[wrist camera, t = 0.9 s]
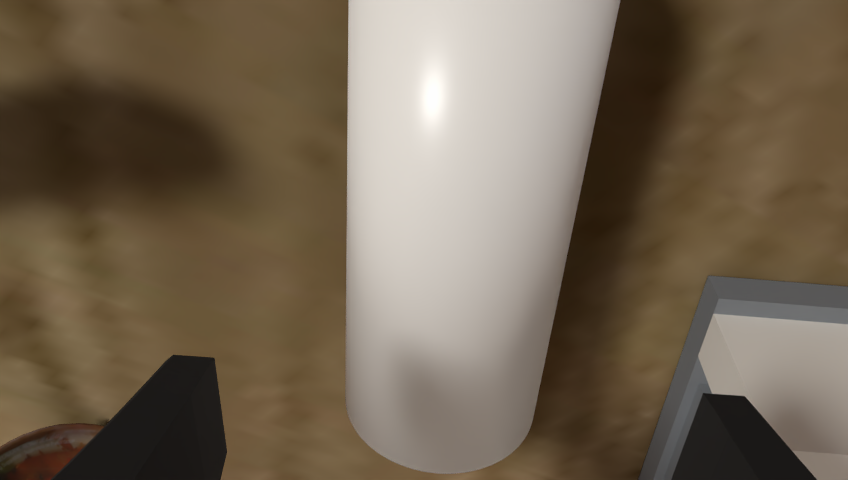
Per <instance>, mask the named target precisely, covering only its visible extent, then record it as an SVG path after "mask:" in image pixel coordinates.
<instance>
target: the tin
mask: <svg viewBox="0 0 848 480" xmlns="http://www.w3.org/2000/svg"><path fill="white" fill-rule="evenodd" d="M103 427H104V426H100V425H94V424H85V423H76V424H59V425H54V426H49V427H45V428H41V429H37V430H35V431H32V432H29V433H26V434H23V435H21V436H19V437H17V438H15V439H13V440H11V441H9V442H7V443H6V444H4V445H3V446H1V447H0V480H51V479H52V478H53V477H54V476H55V475H56V474H57V473H58V472H59V471H60V470H61V469H62V468H63V467H64V466H65V465H66V464H67V463H68V462H69V461H70V460H71V459H72V458H73V457H74V456H75V455H76V454H77V453H78V452H79V451H80V450H81V449H82V448H83V447H84V446H85V445H86V444H87V443H88V442H89V441H90V440H91V439H92V438H93V437H94V436H95V435H96V434H97V433H98V432H99V431H100V430H101V429H102V428H103Z"/></svg>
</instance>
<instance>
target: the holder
mask: <svg viewBox="0 0 848 480" xmlns="http://www.w3.org/2000/svg"><path fill="white" fill-rule="evenodd" d="M703 393H709V394H723V395H737V396H745V397H746V398H747V399H748V400H749V401H750V403H751V404H752V405H753V406H754V407H755V408H756V409H757V411H758V412H759V413H760V414H761V415H762V416H763V418H764V419H765V420H766V421H767V422H768V423H769V424H770V426H771V427H772V428H773V429H774V430H775V432H776V433H777V434H778V435H779V436H780V437H781V439H782V440H783V441H784V442H785V443H786V444H787V446H788V447H789V448H790V449H791V450H792V451H793V452H794V454H795V455H796V456H797V457H798V458H799V459H800V461H801V462H802V463H803V464H804V465H805V466H806V467H807V469H808V470H809V471H810V472H811V473H812V474H813V476H814V477H815V478H816V479H817V480H848V287H845V286H833V285H820V284H807V283H795V282H782V281H770V280H757V279H744V278H732V277H719V276H708V278H707V281H706V284H705V287H704V290H703V292H702V295H701V298H700V301H699V304H698V307H697V310H696V313H695V316H694V319H693V322H692V324H691V327H690V330H689V333H688V336H687V339H686V342H685V345H684V348H683V351H682V354H681V356H680V359H679V362H678V365H677V368H676V371H675V374H674V377H673V380H672V383H671V386H670V388H669V391H668V394H667V397H666V400H665V403H664V406H663V409H662V412H661V415H660V417H659V420H658V423H657V426H656V429H655V432H654V435H653V438H652V441H651V444H650V447H649V449H648V452H647V455H646V458H645V461H644V464H643V467H642V470H641V473H640V476H639V479H638V480H671V479H672V476H673V473H674V471H675V468H676V465H677V462H678V460H679V457H680V454H681V452H682V449H683V446H684V443H685V441H686V438H687V435H688V433H689V430H690V427H691V424H692V422H693V419H694V416H695V414H696V411H697V408H698V405H699V403H700V400H701V397H702V395H703Z"/></svg>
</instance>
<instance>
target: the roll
mask: <svg viewBox="0 0 848 480" xmlns="http://www.w3.org/2000/svg"><path fill="white" fill-rule="evenodd" d="M619 5H620V0H349V16H348V141H347V266H346V390H345V401H346V409H347V413H348V416H349V419H350V421H351V423H352V425H353V427H354V429H355V430H356V432H357V433H358V434H359V436H360V437H361V438H362V439H363V440H364V441H365V442H366V443H367V445H369V446H370V447H371V448H372V449H374V450H375V451H376V452H377V453H379V454H380V455H382V456H384V457H385V458H387V459H389V460H391V461H393V462H395V463H397V464H399V465H402V466H405V467H408V468H411V469H415V470H419V471H424V472H430V473H439V474H454V473H464V472H470V471H474V470H479V469H482V468H485V467H488V466H491V465H493V464H495V463H497V462H499V461H501V460H502V459H504V458H505V457H507V456H508V455H510V454H511V453H512V452H513V451H514V450H515V449H517V448H518V447H519V446H520V444H521V443H522V442H523V440H524V439H525V438H526V436H527V434H528V432H529V430H530V427H531V424H532V421H533V417H534V412H535V407H536V402H537V397H538V393H539V388H540V383H541V378H542V374H543V369H544V364H545V359H546V354H547V350H548V345H549V340H550V335H551V330H552V326H553V321H554V316H555V311H556V306H557V302H558V297H559V292H560V287H561V283H562V278H563V273H564V268H565V263H566V259H567V254H568V249H569V244H570V239H571V235H572V230H573V225H574V220H575V216H576V211H577V206H578V201H579V196H580V192H581V187H582V182H583V177H584V172H585V168H586V163H587V158H588V153H589V149H590V144H591V139H592V134H593V129H594V125H595V120H596V115H597V110H598V105H599V101H600V96H601V91H602V86H603V81H604V77H605V72H606V67H607V62H608V58H609V53H610V48H611V43H612V38H613V34H614V29H615V24H616V19H617V14H618V10H619Z"/></svg>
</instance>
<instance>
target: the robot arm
mask: <svg viewBox="0 0 848 480" xmlns="http://www.w3.org/2000/svg"><path fill="white" fill-rule="evenodd" d="M226 454H227V448H226V441H225V434H224V426H223V419H222V411H221V404H220V396H219V389H218V382H217V374H216V367H215V359H214V358H210V357H196V356H182V355H173V356H171V357H170V358H169V359H168V360H166V361H165V363H164V364H163V365H162V366H161V367H160V368H159V369H158V370H157V371H156V372H155V373H154V374H153V375H152V377H151V378H150V379H149V380H148V381H147V382H146V383H145V384H144V385H143V386H142V387H141V388H140V390H139V391H138V392H137V393H136V394H135V395H134V396H133V397H132V398H131V399H130V400H129V401H128V402H127V403H126V405H125V406H124V407H123V408H122V409H121V410H120V411H119V412H118V413H117V414H116V415H115V416H114V417H113V418H112V419H111V420H110V421H109V422H108V423H107V424H106V425H105V426H104V427H103V428H102V429H101V430H100V431H99V432H98V433H97V434H96V435H95V436H94V437H93V438H92V439H91V440H90V441H89V442H88V443H87V444H86V445H85V446H84V447H83V448H82V449H81V450H80V451H79V452H78V453H77V454H76V455H75V456H74V457H73V458H72V459H71V460H70V461H69V462H68V463H67V464H66V465H65V466H64V467H63V468H62V469H61V470H60V471H59V472H58V473H57V474H56V475H55V476H54V477H53V478H52V479H51V480H220V479H221V475H222V471H223V466H224V462H225V458H226ZM671 480H817V479H816V478H815V477H814V476H813V474H812V473H811V472H810V471H809V470H808V469H807V467H806V466H805V465H804V464H803V463H802V462H801V461H800V459H799V458H798V457H797V456H796V455H795V454H794V452H793V451H792V450H791V449H790V448H789V447H788V446H787V444H786V443H785V442H784V441H783V440H782V439H781V437H780V436H779V435H778V434H777V433H776V432H775V430H774V429H773V428H772V427H771V426H770V424H769V423H768V422H767V421H766V420H765V419H764V418H763V416H762V415H761V414H760V413H759V412H758V411H757V409H756V408H755V407H754V406H753V405H752V404H751V403H750V401H749V400H748V399H747V398H746V397H745V396H737V395H723V394H709V393H703V395H702V397H701V400H700V403H699V405H698V408H697V411H696V414H695V416H694V419H693V422H692V424H691V427H690V430H689V433H688V435H687V438H686V441H685V443H684V446H683V449H682V452H681V454H680V457H679V460H678V462H677V465H676V468H675V471H674V473H673V476H672V479H671Z"/></svg>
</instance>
